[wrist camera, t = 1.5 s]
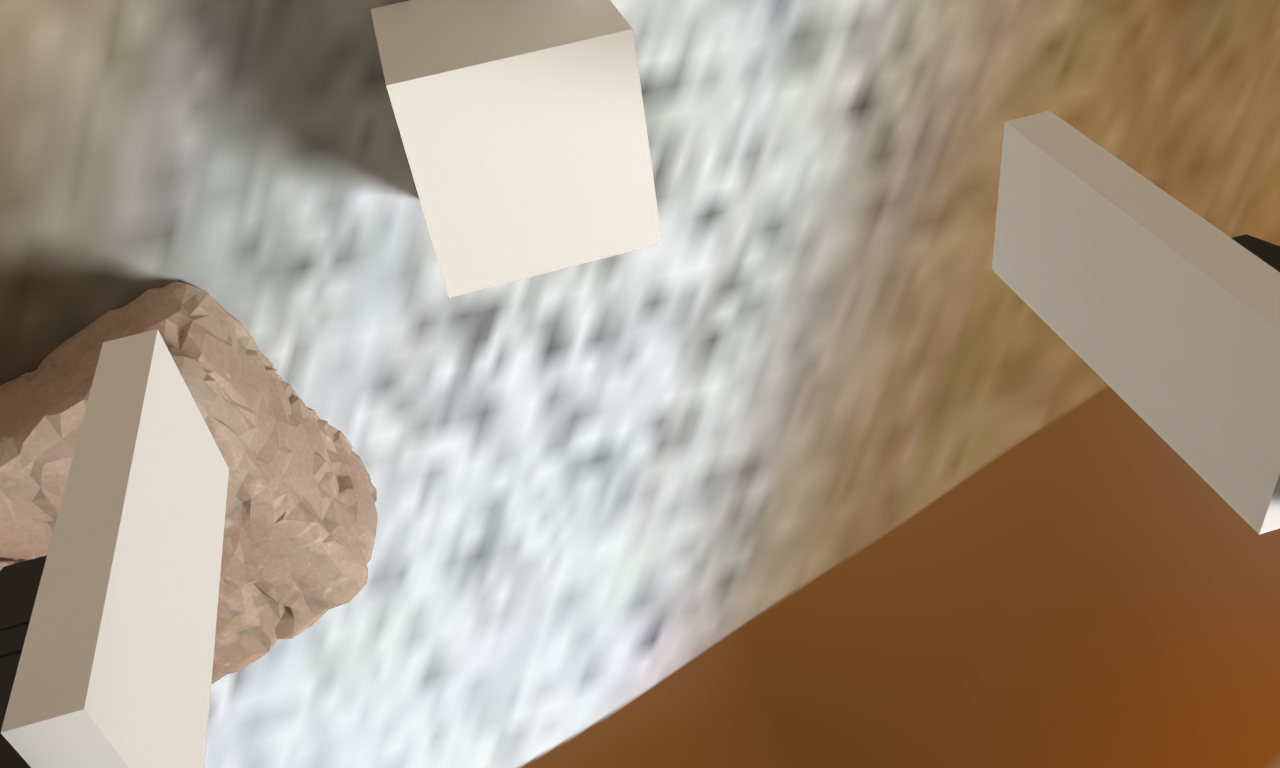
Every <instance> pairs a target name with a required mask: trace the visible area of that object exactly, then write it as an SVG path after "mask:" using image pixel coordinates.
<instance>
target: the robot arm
mask: <svg viewBox="0 0 1280 768" xmlns="http://www.w3.org/2000/svg"><path fill="white" fill-rule="evenodd" d="M992 270H993V271H994V272H995V273H996V274H997V275H998V276H999V277H1000V278H1001V279H1002V280H1003V281H1004V282H1005V283H1006V284H1007V285H1008V286H1009V287H1010V288H1011V289H1012V290H1013V291H1014V292H1015V293H1016V294H1017V295H1018V296H1019V297H1020V298H1021V299H1022V300H1023V301H1024V302H1025V303H1026V304H1027V305H1028V306H1029V307H1030V308H1031V309H1032V310H1033V311H1034V312H1035V313H1036V314H1037V315H1038V316H1039V317H1040V318H1041V319H1042V320H1043V321H1044V322H1045V323H1046V324H1047V325H1048V326H1049V327H1050V328H1051V329H1052V330H1053V331H1054V332H1055V333H1056V334H1057V335H1058V336H1059V337H1060V338H1061V339H1062V340H1063V341H1064V342H1065V343H1066V344H1067V345H1068V346H1069V347H1070V348H1071V349H1072V350H1074V351H1075V352H1076V353H1077V354H1078V355H1079V356H1080V357H1081V358H1082V359H1083V360H1084V361H1085V362H1086V363H1087V364H1088V365H1089V366H1090V367H1091V368H1092V369H1093V370H1094V371H1095V372H1096V373H1097V374H1098V375H1099V376H1100V377H1101V378H1102V379H1103V380H1104V381H1105V382H1106V383H1107V384H1108V385H1109V386H1110V387H1111V388H1112V389H1113V390H1114V391H1115V392H1116V393H1117V394H1118V395H1119V396H1120V397H1121V398H1122V399H1123V400H1124V401H1125V402H1126V403H1127V404H1128V405H1129V406H1130V407H1131V408H1132V409H1133V410H1134V411H1135V412H1136V413H1137V414H1138V415H1139V416H1140V417H1141V418H1142V419H1143V420H1144V421H1145V422H1146V423H1147V424H1148V425H1149V426H1150V427H1151V428H1152V429H1153V430H1154V431H1155V432H1156V433H1157V434H1158V435H1159V436H1160V437H1161V438H1162V439H1163V440H1165V442H1167V444H1169V446H1170V447H1172V448H1173V450H1175V451H1176V453H1177V454H1179V455H1180V456H1181V457H1182V458H1183V459H1184V460H1185V461H1186V462H1187V463H1188V464H1189V465H1190V466H1191V467H1192V468H1193V469H1194V470H1195V471H1196V472H1197V473H1198V474H1199V475H1200V476H1201V477H1202V478H1203V479H1204V480H1205V481H1206V482H1207V483H1208V484H1209V485H1210V486H1211V487H1212V488H1213V489H1214V490H1215V491H1216V492H1217V493H1218V494H1219V495H1220V496H1221V497H1222V498H1223V499H1224V500H1225V501H1226V502H1227V503H1228V504H1229V505H1230V506H1231V507H1232V508H1233V509H1234V510H1235V511H1236V512H1237V513H1238V514H1239V515H1240V516H1241V517H1242V518H1243V519H1244V520H1245V521H1246V522H1247V523H1248V524H1249V525H1250V526H1251V527H1252V528H1253V529H1254V530H1255V531H1256V532H1258V534H1263V533H1265V532H1269V531H1272V530H1276V529H1279V528H1280V246H1277V245H1274V244H1271V243H1269V242H1266V241H1263V240H1260V239H1258V238H1255V237H1252V236H1249V235H1242V236H1238V237H1234V238H1230V237H1229V236H1227V235H1226V234H1224V233H1223V232H1221V231H1220V230H1219V229H1217V228H1216V227H1214V226H1213V225H1211V224H1210V223H1209V222H1207V221H1206V220H1204V219H1203V218H1201V217H1200V216H1199V215H1197V214H1196V213H1194V212H1193V211H1192V210H1190V209H1189V208H1187V207H1186V206H1184V205H1183V204H1182V203H1180V202H1179V201H1177V200H1176V199H1174V198H1173V197H1172V196H1170V195H1169V194H1167V193H1166V192H1164V191H1163V190H1162V189H1160V188H1159V187H1157V186H1156V185H1154V184H1153V183H1152V182H1150V181H1149V180H1147V179H1146V178H1144V177H1143V176H1142V175H1140V174H1139V173H1137V172H1136V171H1135V170H1133V169H1132V168H1130V167H1129V166H1127V165H1126V164H1125V163H1123V162H1122V161H1120V160H1119V159H1117V158H1116V157H1115V156H1113V155H1112V154H1110V153H1109V152H1107V151H1106V150H1105V149H1103V148H1102V147H1100V146H1099V145H1097V144H1096V143H1095V142H1093V141H1092V140H1090V139H1089V138H1087V137H1086V136H1085V135H1083V134H1082V133H1080V132H1079V131H1078V130H1076V129H1075V128H1073V127H1072V126H1070V125H1069V124H1068V123H1066V122H1065V121H1063V120H1062V119H1060V118H1059V117H1058V116H1056V115H1055V114H1053V113H1052V112H1050V111H1047V112H1043V113H1039V114H1035V115H1031V116H1027V117H1023V118H1019V119H1014V120H1010V121H1006V122H1005V126H1004V137H1003V148H1002V160H1001V171H1000V182H999V193H998V205H997V216H996V227H995V238H994V250H993V261H992ZM228 476H229V468H228V466H227V464H226V462H225V460H224V458H223V456H222V454H221V452H220V450H219V448H218V446H217V444H216V442H215V440H214V438H213V436H212V435H211V433H210V431H209V429H208V427H207V425H206V423H205V421H204V419H203V417H202V415H201V413H200V411H199V409H198V407H197V405H196V403H195V401H194V399H193V397H192V395H191V393H190V391H189V389H188V387H187V385H186V383H185V382H184V380H183V378H182V376H181V374H180V372H179V370H178V368H177V366H176V364H175V362H174V360H173V358H172V356H171V354H170V352H169V350H168V348H167V346H166V344H165V342H164V340H163V338H162V336H161V334H160V332H159V331H158V329H156V330H152V331H148V332H144V333H139V334H135V335H131V336H127V337H123V338H119V339H115V340H111V341H107V342H103V345H102V348H101V352H100V356H99V360H98V364H97V367H96V371H95V375H94V379H93V383H92V387H91V390H90V394H89V398H88V402H87V406H86V409H85V413H84V417H83V421H82V425H81V428H80V432H79V436H78V440H77V444H76V447H75V451H74V455H73V459H72V463H71V466H70V470H69V474H68V478H67V482H66V485H65V489H64V493H63V497H62V501H61V504H60V508H59V512H58V516H57V520H56V524H55V527H54V531H53V535H52V539H51V543H50V546H49V550H48V554H47V555H46V556H42V557H38V558H35V559H31V560H27V561H23V562H19V563H16V564H12V565H8V566H4V567H3V568H2V570H1V571H0V768H204V767H205V755H206V742H207V730H208V718H209V706H210V694H211V682H212V670H213V658H214V645H215V633H216V621H217V609H218V597H219V585H220V573H221V560H222V548H223V536H224V524H225V512H226V500H227V488H228Z"/></svg>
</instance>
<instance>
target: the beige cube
mask: <svg viewBox="0 0 1280 768" xmlns="http://www.w3.org/2000/svg"><path fill="white" fill-rule="evenodd" d="M370 10H371V15H372V20H373V25H374V30H375V35H376V39H377V44H378V49H379V54H380V59H381V64H382V68H383V73H384V78H385V83H386V87H387V91H388V94H389V97H390V101H391V104H392V108H393V111H394V114H395V118H396V121H397V125H398V128H399V131H400V135H401V138H402V142H403V145H404V148H405V152H406V155H407V159H408V162H409V166H410V169H411V172H412V176H413V179H414V183H415V186H416V189H417V193H418V196H419V200H420V203H421V206H422V210H423V213H424V217H425V220H426V223H427V227H428V230H429V234H430V237H431V241H432V244H433V247H434V251H435V254H436V258H437V261H438V264H439V268H440V271H441V275H442V278H443V281H444V285H445V288H446V292H447V295H448V298H450V297H454V296H458V295H462V294H466V293H470V292H474V291H478V290H481V289H485V288H489V287H493V286H497V285H501V284H505V283H509V282H513V281H517V280H520V279H524V278H528V277H532V276H536V275H540V274H544V273H548V272H552V271H556V270H559V269H563V268H567V267H571V266H575V265H579V264H583V263H587V262H591V261H594V260H598V259H602V258H606V257H610V256H614V255H618V254H622V253H626V252H630V251H633V250H637V249H641V248H645V247H649V246H653V245H657V244H661V243H662V238H661V231H660V224H659V216H658V209H657V202H656V194H655V187H654V180H653V173H652V165H651V158H650V151H649V143H648V136H647V129H646V122H645V114H644V107H643V100H642V93H641V85H640V78H639V71H638V63H637V56H636V49H635V42H634V34H633V29H632V27H631V26H630V25H629V24H628V22H627V21H626V20H625V19H624V17H623V16H622V15H621V14H620V12H619V11H618V10H617V9H616V7H615V6H614V5H613V4H612V2H611V1H610V0H409V1H405V2H400V3H395V4H391V5H386V6H382V7H377V8H373V9H370Z"/></svg>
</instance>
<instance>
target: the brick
mask: <svg viewBox="0 0 1280 768" xmlns="http://www.w3.org/2000/svg"><path fill="white" fill-rule="evenodd" d="M156 329H158V331H159V332H160V334H161V336H162V338H163V340H164V342H165V344H166V346H167V348H168V350H169V352H170V354H171V356H172V358H173V360H174V362H175V364H176V366H177V368H178V370H179V372H180V374H181V376H182V378H183V380H184V382H185V383H186V385H187V387H188V389H189V391H190V393H191V395H192V397H193V399H194V401H195V403H196V405H197V407H198V409H199V411H200V413H201V415H202V417H203V419H204V421H205V423H206V425H207V427H208V429H209V431H210V433H211V435H212V436H213V438H214V440H215V442H216V444H217V446H218V448H219V450H220V452H221V454H222V456H223V458H224V460H225V462H226V464H227V466H228V468H229V476H228V488H227V500H226V512H225V524H224V536H223V548H222V560H221V573H220V585H219V597H218V609H217V621H216V633H215V645H214V658H213V670H212V682H211V684H212V683H214V682H215V681H217V680H219V679H220V678H222V677H223V676H225V675H226V674H229V673H233V672H237V671H239V670H240V669H242V668H244V667H245V666H247V665H249V664H250V663H252V662H254V661H255V660H257V659H259V658H260V657H262V656H263V655H265V654H266V653H268V652H269V651H270V649H271V648H272V647H273V645H274V644H275V643H276V641H277V640H278V639H291V638H294V637H295V636H297V635H298V634H300V633H301V632H303V631H304V630H306V629H307V628H309V627H310V626H312V625H313V624H314V623H315V622H316V621H317V620H318V619H319V618H320V617H321V616H322V615H323V614H324V613H325V612H326V611H328V610H329V609H331V608H334V607H337V606H340V605H343V604H345V603H348V602H350V601H351V600H352V599H353V598H354V597H355V596H356V594H357V593H358V592H359V591H360V590H361V589H362V588H363V587H364V586H365V585H366V583H367V578H368V568H367V563H368V562H369V560H370V559H371V555H372V550H373V545H374V540H375V534H376V526H377V512H376V508H375V502H376V489H375V487H374V486H373V485H372V483H371V479H370V476H369V474H368V472H367V470H366V469H365V467H364V465H363V463H362V461H361V459H360V457H359V456H358V455H356V454H355V453H354V452H353V451H352V450H351V449H352V446H351V443H350V442H349V440H348V439H347V438H346V436H345V435H344V434H343V433H342V432H341V431H338V430H337V429H335V428H334V427H332V426H330V425H329V424H328V422H327V421H324V420H321V419H320V418H319V417H318V415H317V414H316V412H315V410H312V409H310V408H308V407H306V406H305V404H304V402H303V401H302V400H301V399H300V398H299V397H298V396H297V395H296V393H295V392H294V390H293V389H292V387H291V386H290V384H288V383H286V382H284V381H282V378H281V377H280V376H279V375H277V374H275V371H276V369H274V368H273V364H272V363H271V362H270V361H269V360H268V359H267V358H266V357H265V356H264V355H263V354H262V353H261V352H260V351H259V350H258V348H257V346H256V343H255V341H254V340H253V338H252V336H251V335H250V334H249V332H248V331H247V330H246V328H245V327H244V326H243V325H242V323H241V322H239V321H238V320H237V319H236V318H235V317H233V316H232V315H231V314H229V313H228V312H227V311H226V310H225V309H224V308H223V307H222V306H221V305H220V304H219V303H218V302H217V301H216V300H215V299H214V298H213V297H212V296H211V295H210V294H209V293H207V292H205V291H203V290H201V289H199V288H196V287H194V286H192V285H189V284H185V283H181V282H172V283H170V284H168V285H166V286H164V287H162V288H151V289H148V290H146V291H145V292H144V293H143V294H141V295H140V296H139V297H138V298H136V299H135V300H133V301H131V302H130V303H128V304H126V305H125V306H123V307H121V308H117V309H114V310H110V311H108V312H107V313H105V314H104V315H102V316H101V317H99V318H98V319H97V320H95V321H94V322H93V323H91V324H90V325H88V326H87V327H85V328H84V329H82V330H81V331H80V332H78V333H77V334H75V335H74V336H72V337H71V338H69V339H68V340H66V341H65V342H64V343H62V344H61V345H60V346H58V347H57V348H56V349H55V350H54V351H52V352H51V353H50V354H49V355H48V356H47V357H45V358H44V359H43V361H42V362H41V363H40V365H39V366H38V368H37V369H36V370H35V371H33V372H27V373H25V374H23V375H22V376H20V377H18V378H16V379H15V380H11V381H9V382H7V383H4V384H2V385H0V571H1V570H2V568H3V567H4V566H8V565H12V564H16V563H19V562H23V561H27V560H31V559H35V558H38V557H42V556H46V555H47V554H48V550H49V546H50V543H51V539H52V535H53V531H54V527H55V524H56V520H57V516H58V512H59V508H60V504H61V501H62V497H63V493H64V489H65V485H66V482H67V478H68V474H69V470H70V466H71V463H72V459H73V455H74V451H75V447H76V444H77V440H78V436H79V432H80V428H81V425H82V421H83V417H84V413H85V409H86V406H87V402H88V398H89V394H90V390H91V387H92V383H93V379H94V375H95V371H96V367H97V364H98V360H99V356H100V352H101V348H102V345H103V342H107V341H111V340H115V339H119V338H123V337H127V336H131V335H135V334H139V333H144V332H148V331H152V330H156Z"/></svg>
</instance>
